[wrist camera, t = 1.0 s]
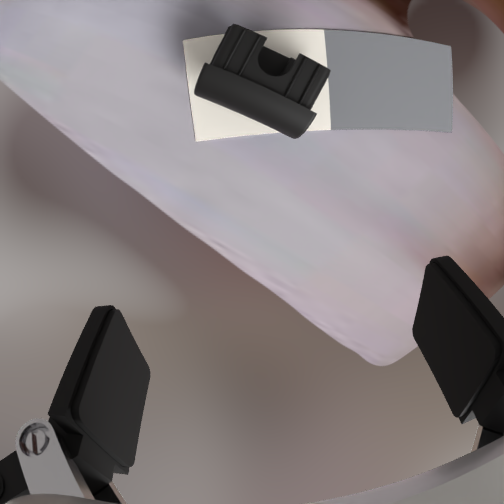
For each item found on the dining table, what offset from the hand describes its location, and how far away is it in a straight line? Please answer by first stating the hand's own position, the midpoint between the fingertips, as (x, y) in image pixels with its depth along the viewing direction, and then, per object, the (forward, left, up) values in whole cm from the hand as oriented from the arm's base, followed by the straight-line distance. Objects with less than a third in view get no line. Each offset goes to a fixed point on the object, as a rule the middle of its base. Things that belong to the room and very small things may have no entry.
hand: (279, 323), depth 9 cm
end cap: (-7, +2, -26) cm, 27 cm away
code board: (-7, +2, -26) cm, 27 cm away
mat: (-7, +17, -26) cm, 32 cm away
